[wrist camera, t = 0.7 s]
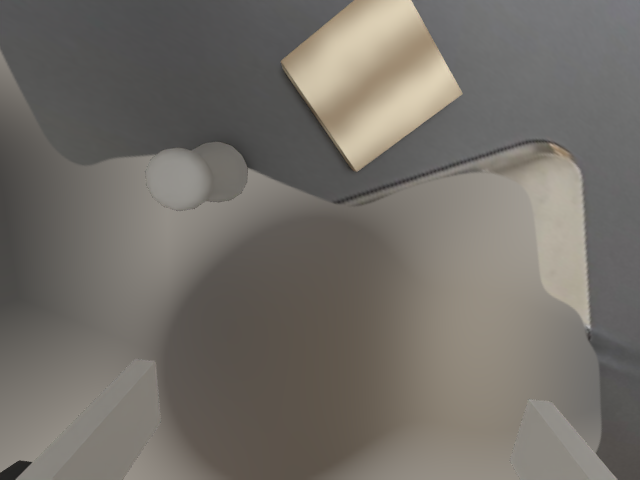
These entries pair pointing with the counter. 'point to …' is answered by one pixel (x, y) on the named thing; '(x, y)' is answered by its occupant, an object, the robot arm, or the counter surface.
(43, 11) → the counter surface
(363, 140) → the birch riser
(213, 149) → the salt shaker
